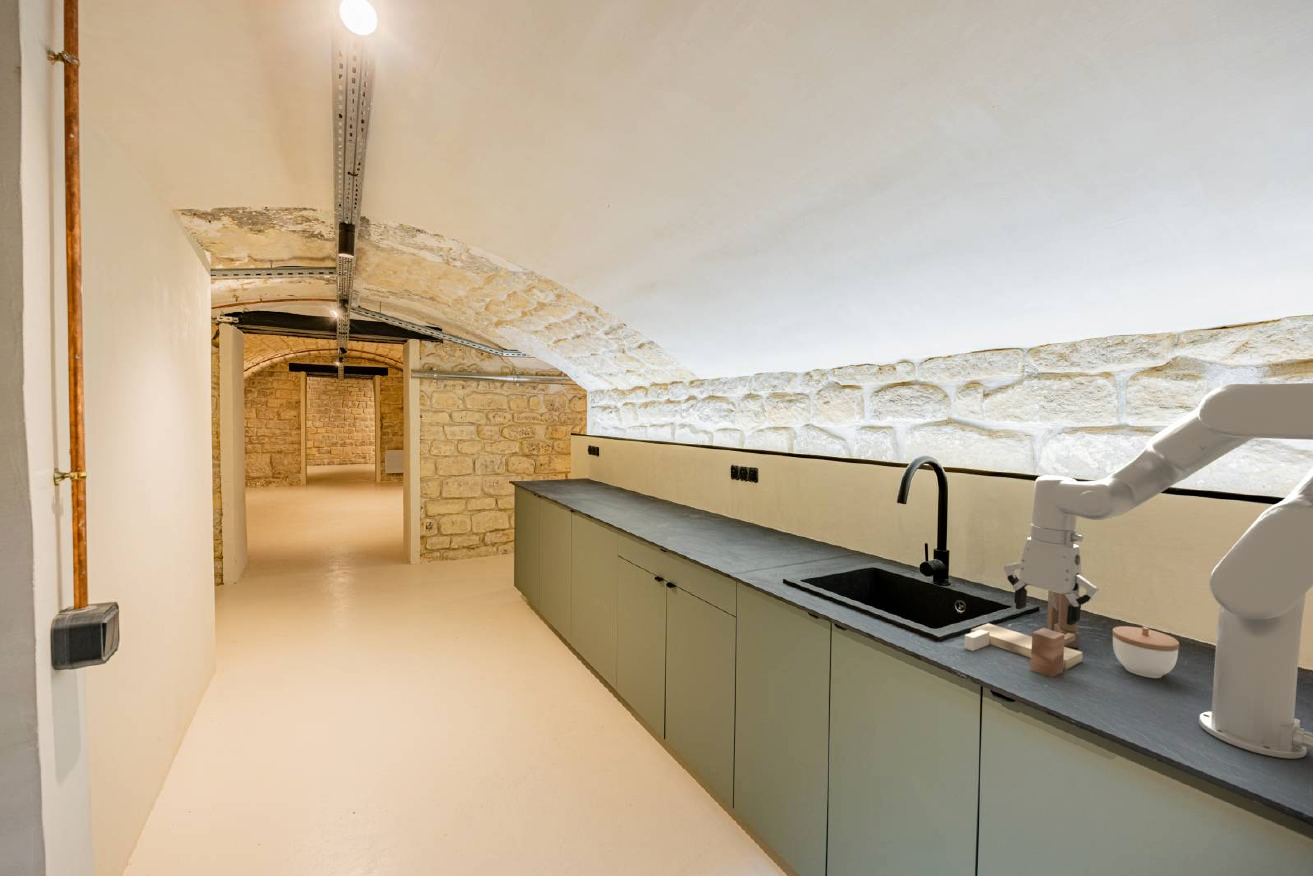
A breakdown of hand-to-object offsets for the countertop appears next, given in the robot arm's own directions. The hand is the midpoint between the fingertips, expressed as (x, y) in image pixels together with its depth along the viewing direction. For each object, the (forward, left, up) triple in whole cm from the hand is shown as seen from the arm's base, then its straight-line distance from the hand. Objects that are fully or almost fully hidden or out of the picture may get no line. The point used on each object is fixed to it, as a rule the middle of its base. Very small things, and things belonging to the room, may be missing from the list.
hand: (1045, 615), depth 121 cm
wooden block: (+5, -23, -12) cm, 26 cm away
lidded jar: (-12, -18, -12) cm, 24 cm away
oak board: (+7, -8, -12) cm, 16 cm away
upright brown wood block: (-1, -5, -12) cm, 12 cm away
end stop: (+14, 0, -12) cm, 18 cm away
